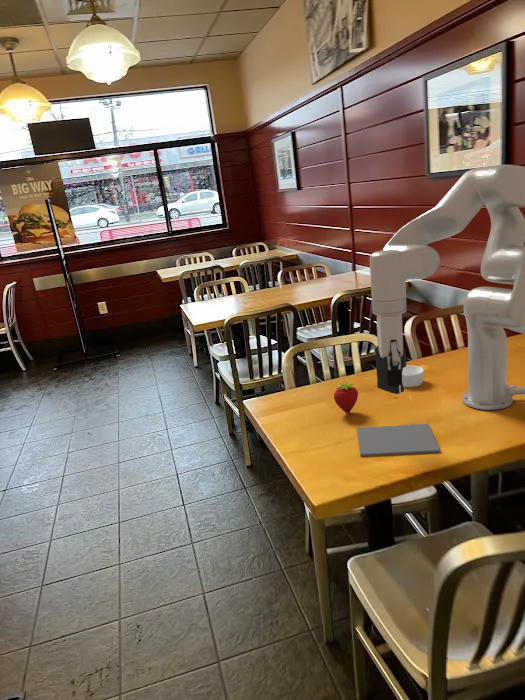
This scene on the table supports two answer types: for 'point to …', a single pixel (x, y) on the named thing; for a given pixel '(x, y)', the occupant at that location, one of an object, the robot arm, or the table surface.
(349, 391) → the strawberry
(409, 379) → the ramekin
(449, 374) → the table surface
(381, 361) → the battery charger
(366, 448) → the mat
